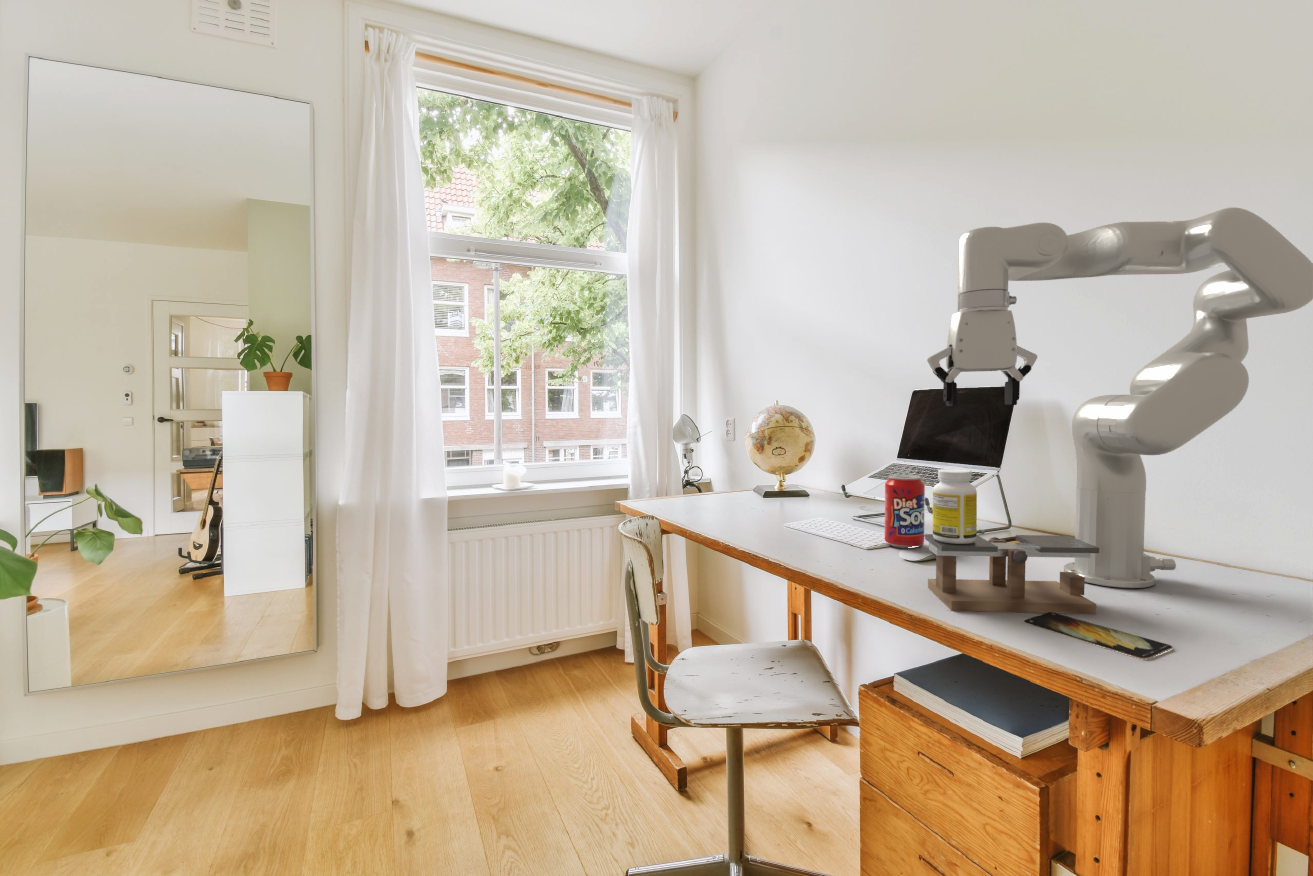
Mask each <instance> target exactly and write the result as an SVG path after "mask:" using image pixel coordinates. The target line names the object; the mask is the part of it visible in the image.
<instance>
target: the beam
mask: <svg viewBox="0 0 1313 876" xmlns="http://www.w3.org/2000/svg"><path fill="white" fill-rule="evenodd" d="M924 540H926V541H927V542H928V550H929V551H930V552H931V553H933V554H934V555H937V556H956V557H990V556H999V557H1006V558H1008V549H1022V550H1024V551H1026V554H1027V558H1072V559H1075V558H1091V553H1099V548H1098V547H1096V546H1093V545H1091V544H1088V543H1086V542H1083V541H1081V540H1079V539H1076V538H1075V536H1070V535H1050V534H1049V535H1046V534H1045V535H1043V534H1042V535H1041V534H1040V535H1038V534H1035V535H1033V534H1031V535H1030V534H1029V535H1028V534H1027V535H1025V534H1024V535H1023V534H1021V535H1020V534H1016V535H1015V541H1017V542H1006V543H990V542H989V540H987V539H985V538H983V537H981V536H980V535H978V534H976V541H975V542H973V543H970V544H951V543H944V542H940V541H937V540H936V539H934V537H933V533H931V534H930V533H929V534H928V533H924Z"/></svg>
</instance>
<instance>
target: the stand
mask: <svg viewBox="0 0 1313 876" xmlns="http://www.w3.org/2000/svg"><path fill="white" fill-rule="evenodd" d="M988 541H989V542H990V543H1007V541H1006V540H1005V539H1000V538H999V537H997V536H996V537H995V536H994V537H990V538H989V540H988ZM935 555H936V554H935ZM935 557H936V558H935V560H936V561H935V578H927V588H928V589H929V591H931V592H932V593H933V594H934V595H935V596H936V597H937V598H938V599H939V600H940V602H942V603H943V604H944V605H945V606H946V607H947V608H949V610H950V611H954V612H955V611H956V612H957V611H958V612H995V613H996V612H999V613H1002V612H1003V613H1033V614H1034V613H1035V614H1036V613H1039V614H1041V613H1043V614H1045V613H1049V612H1052V613H1057V614H1078V615H1079V614H1081V615H1083V614H1084V615H1096V614H1097V602H1096V603H1095V602H1094V601H1091V600H1090V599H1088V598H1086V597H1085V583H1086V582H1085V578H1084V577H1082V576H1080V575H1079V574H1077V573H1075V572H1064V571H1059V582H1058V581H1056V580H1026V561H1027V560H1028V557H1027V554H1026V551H1024V550H1022V549H1008V557H999V556H989V576H988V577H989V578H988V579H965V578H964V579H961V578H959V579H957V556H937V555H936V556H935Z"/></svg>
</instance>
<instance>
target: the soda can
mask: <svg viewBox="0 0 1313 876" xmlns="http://www.w3.org/2000/svg"><path fill="white" fill-rule="evenodd" d="M925 487H926V485H925V484H924V482H923V480H922V476H919V475H912V474H892V475H888V479H887V480H886V482H885V485H884V541H886V542H888V543H889V544H888V543H887V544H888V545H889V546H890V547H893V548H897V549H904V548H908V547H912V546H919V547H921V546H923V545H924V543H925V509H926V508H925V503H926V501H925V499H926V497H925V493H926V491H925Z"/></svg>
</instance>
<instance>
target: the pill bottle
mask: <svg viewBox="0 0 1313 876" xmlns="http://www.w3.org/2000/svg"><path fill="white" fill-rule="evenodd" d="M972 477H973V476H972V470H970V469H963V468H941V469H938V470H937V479H938V480H939V482H938V483H936V484H935V485H934V486H933V489H932V534H933V537H934V539H936V540H937V541H940V542H944V543H951V544H970V543H973V542H975V541H976V535H977V527H978V525H977V515H978V514H977V511H978V509H977V508H978V503H977V502H978V501H977V500H978V499H977V497H978V496H977V495H978V493H977V492H978V491H977V489H976V486H974V485H973V484H971V483H970V481H972Z"/></svg>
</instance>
